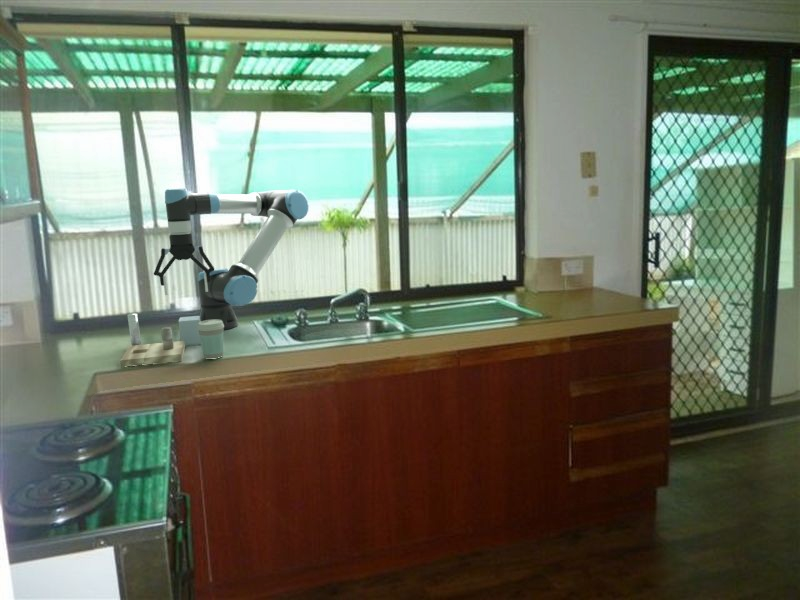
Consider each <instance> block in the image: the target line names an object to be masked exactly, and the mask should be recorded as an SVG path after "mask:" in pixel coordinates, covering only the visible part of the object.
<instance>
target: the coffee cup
mask: <svg viewBox="0 0 800 600" xmlns="http://www.w3.org/2000/svg"><path fill="white" fill-rule="evenodd" d="M197 330H198V331H199V335H200V340H201V344H200V345H201V348H202V351H203V352H202V353H203V356H204V359H205V358H218V357H221V356H224V324H223V322H222V320H216V319H214V320H205V321H201V322H199V323H198V327H197Z"/></svg>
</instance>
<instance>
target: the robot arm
mask: <svg viewBox="0 0 800 600" xmlns="http://www.w3.org/2000/svg"><path fill="white" fill-rule="evenodd" d="M308 202H309V201H308V198H307V196H306V195H305V193H303V192H302V191H300V190H297V189H291V188H290V189H285V190H284V189H280V190H279V189H275V190H267V191H259V192H251V193H249V194H229V193H228V194H222V193H215V192H202V193H201V192H199V193H198V192H195V193H189V192H188V190H187V188H168V189H165V191H164V204H165V210H166V218H167V226H168V227H167V228H168V233H169V245H170V247H169V248H165V247H162V248H161V250H160V257H159V260H158V262H157V264H156V267H155V269H154V271H153V275H154V276H157V277H159V280H160V281H159V282H160V286H161V287H162V286H164V287H163V288H164V295H165V296H168V295H169V290H168V282H167V281H168V279H167V275H165V274H166V272H167V271H168V270H169V269H170V267H171V266H172V265H173V264H174V262H175V261H176V260H177V261H182V260H183V261H188V260H192V261H193V262H194V263H195V264H196V265H197V266H198V267H200V269H201V270H202V271H200V272H199V273H198V275H197V283H198V290H199V299H200V300H199V301H200V313H199V316H200V320H201V321H205V320H214V319H216V320H222V322H223V324H224V330H230V329H233V328H235V327H237V326H238V325H239V324H238V318H237V316H236V314H235V313H236V312H235V311H234V309H233V308H232V307H233V306H234V307H238V306H242V307H243V306H246V305H248V304H251V303H252V302H253V300H255V298H256V296H257V294H258V289H257V288H258V285H257V284H258V282H259V277H258V275H259V274H260V272H261V271H262V269H263V267H264V266H265V264H266V262H267V261H268V259H269V258H270V257H271V254H272V253H273V252H274V249H276V247H277V245H278V243H279V241H281V239H282V237H283V235H284V234H285V232H287V229H291V228H293V227H294V226H295V224H296V222H297V220H301V219H305V217H306V216H307V214H308V212H309V203H308ZM215 214H218V215H219V214H224V215H226V214H228V215H229V214H231V215H233V214H234V215H235V214H240V215H241V214H242V215H243V214H244V215H245V214H250V215H251V216H252V217H253V216H254V217H255V216H256V217H266V220H265V221H264V223H263V225H262V226H261V227H260V229H259V231H258V232H257V234H256V236H255V237H254V239H253V240H252V242H251V243H250V245H249V246H248V248H247V249H246V251H245V252H244V254H243V255H242V257H241V259H240V260H239V261H238V263H235V264H232V265H231V267H230V268H229V269H228V268H219V269H217V268H216V269H215V267H214V265H213V264H212V262H211V261H210V259H209V258H208V257H207V255H206V253H205V252H204V248H203V246H202V245H199V246H194V243H193V240H194V239H193V234H192V233H191V232H192V223H191V216H197V215H200V216H201V215H215ZM195 251H196V252H197V253H199V254H200V256H201V257H202V259H203V260H204V262H205V263H206V266H207V267H206V266H205V264H203V262H201V261H200V260H199V259H198V258H197V257H196V256H195V255H194V252H195ZM168 253H170V254H171V256H172V257H171V258H170V260H169V261H168V263H167V264H166V265H165V266H164V267H163V269H162V270H161V267H162V266H163V265H162V264H163V261H164V259H165V257H166V255H168ZM160 270H161V271H160ZM224 330H223V331H224Z"/></svg>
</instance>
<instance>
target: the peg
mask: <svg viewBox="0 0 800 600" xmlns="http://www.w3.org/2000/svg"><path fill="white" fill-rule="evenodd" d="M127 321H128V329H129V338H130V346H134V345H142V342H141V333H140V323H139V317H138V313H137V312H135V313H134V312H131V313H127Z"/></svg>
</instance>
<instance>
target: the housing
mask: <svg viewBox="0 0 800 600" xmlns="http://www.w3.org/2000/svg"><path fill="white" fill-rule="evenodd" d="M199 322H201V320H200V315H192V316H181V317H179V318H178V327H179V337H180V340H179V341H184V342H185V347H186V346H195V345H202V344H201V340H200V335H199V331H198V330H197V327H198V323H199Z"/></svg>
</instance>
